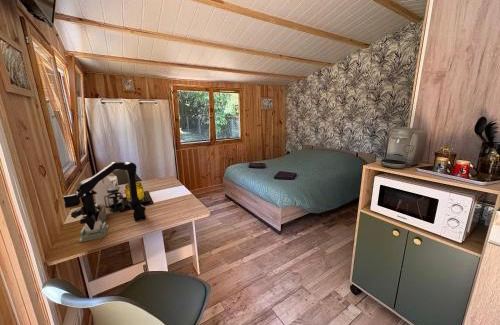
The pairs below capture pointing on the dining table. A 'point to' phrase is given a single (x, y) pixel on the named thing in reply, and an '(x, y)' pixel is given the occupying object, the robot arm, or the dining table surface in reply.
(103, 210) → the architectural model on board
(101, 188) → the gable box
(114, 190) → the french press
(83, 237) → the holder
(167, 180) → the dining table surface
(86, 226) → the roll
